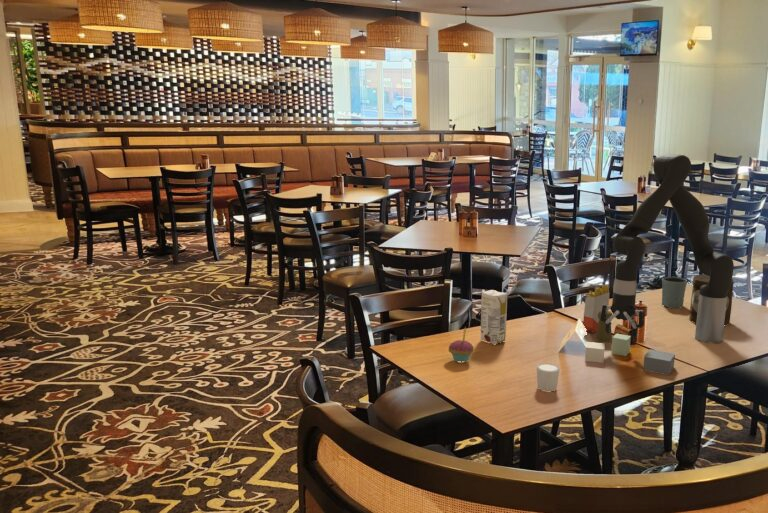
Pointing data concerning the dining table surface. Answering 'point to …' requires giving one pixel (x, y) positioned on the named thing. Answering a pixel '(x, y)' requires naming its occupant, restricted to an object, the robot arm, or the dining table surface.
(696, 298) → the wooden container
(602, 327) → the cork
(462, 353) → the cupcake
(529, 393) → the dining table surface
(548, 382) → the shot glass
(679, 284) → the green tapered bucket
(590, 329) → the french fries container
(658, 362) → the slate block
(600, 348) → the cream block
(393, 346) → the dining table surface
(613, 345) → the sage block
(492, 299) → the juice carton
